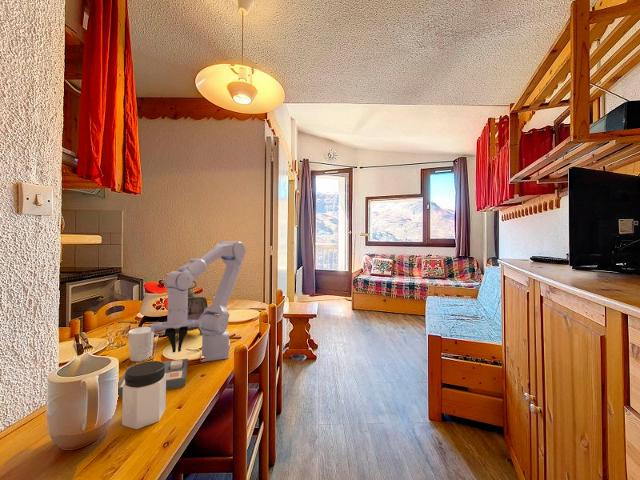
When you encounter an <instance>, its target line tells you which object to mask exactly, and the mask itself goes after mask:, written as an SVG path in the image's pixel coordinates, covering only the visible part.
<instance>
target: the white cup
mask: <svg viewBox="0 0 640 480" xmlns="http://www.w3.org/2000/svg"><path fill="white" fill-rule="evenodd" d="M127 333H128V354H129V360H130V361H131V362H144V361H145V360H148V359H150V358H151V357H152V356H151V354H152V355H153V348H154V337H155V331H153V332H151V326H139V327H136V328H133V329H130V330H129V331H128V332H127ZM150 356H151V357H150ZM149 357H150V358H149Z"/></svg>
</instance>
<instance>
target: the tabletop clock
mask: <svg viewBox="0 0 640 480" xmlns="http://www.w3.org/2000/svg"><path fill="white" fill-rule="evenodd" d="M192 283H194V286H192V287H190V288H188V314H187V320H199V317H200V316H201V315H202V314H203V312H204V310H205V308H207V307H208V301H207V299H206V297H203V296H202V295H199V294H195V292H194V290H193V289H195V288H196V287H197V282H196V281H195V280H194V281H193V282H192ZM179 329H180V328H178V329H176V341H177V340H179ZM195 330H198V331H199V335H201V336H202V333H201V329H200V328H199V327H188V331H187V333H186V335H188V332H190V331H195Z"/></svg>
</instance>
